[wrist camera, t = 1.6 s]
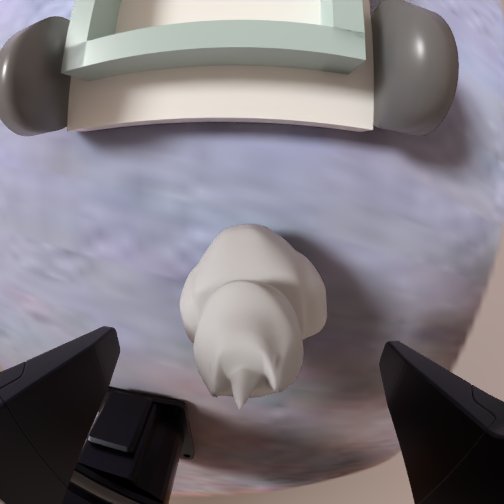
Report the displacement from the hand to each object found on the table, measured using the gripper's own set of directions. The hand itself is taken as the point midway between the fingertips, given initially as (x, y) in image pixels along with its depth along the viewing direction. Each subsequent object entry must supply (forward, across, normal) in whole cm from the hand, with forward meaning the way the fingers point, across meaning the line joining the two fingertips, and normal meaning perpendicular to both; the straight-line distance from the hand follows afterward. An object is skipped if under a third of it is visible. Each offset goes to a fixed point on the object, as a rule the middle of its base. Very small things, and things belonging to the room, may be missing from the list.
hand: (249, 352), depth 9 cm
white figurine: (+5, 0, 0) cm, 5 cm away
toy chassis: (+5, +2, -15) cm, 16 cm away
